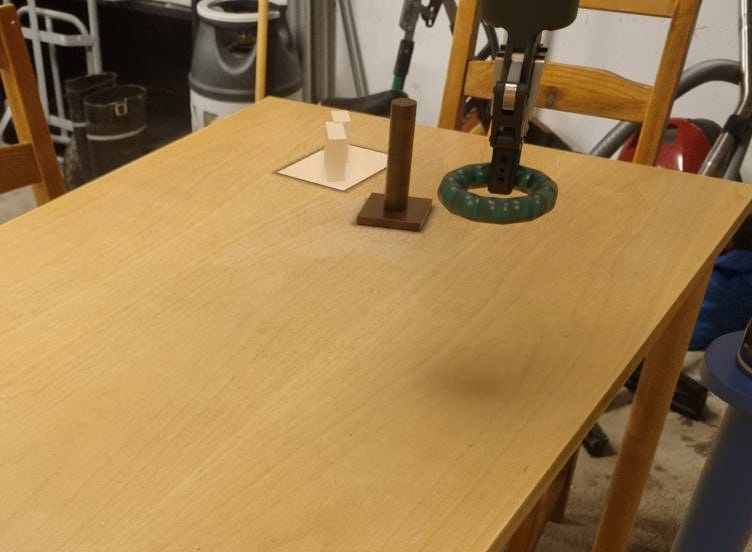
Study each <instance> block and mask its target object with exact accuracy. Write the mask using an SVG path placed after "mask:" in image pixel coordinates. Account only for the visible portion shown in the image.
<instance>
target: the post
mask: <svg viewBox="0 0 752 552" xmlns="http://www.w3.org/2000/svg"><path fill="white" fill-rule="evenodd" d="M390 104H391V105H390V117H389V130H388V144H387V154H388V155H387V167H386V170H385V182H384V193H383V192H373V191H372V192H371V193H370V195H369V197H368V198H367V200H366V201H365V202H364V204H363V206H362V208H361V209H360V211H359V212H358V214H357V216H356V217H357V218H356V224H357V225H364V226H372V227H380V228H390V229H398V230H399V229H400V230H406V231H416V232H420V231H421V230H422V228H423V225H424V223H425V221H426V220H427V217H428V215H429V213H430V211H431V209H432V207H433V198H427V197H417V196H410V185H411V172H412V165H413V164H412V162H413V153H414V142H415V141H414V140H415V130H416V119H417V109H418V101H417V100H416V99H413V98H411V97H410V98H409V97H398V98H394V99H392V100H391V103H390Z"/></svg>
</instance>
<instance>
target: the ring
mask: <svg viewBox="0 0 752 552" xmlns="http://www.w3.org/2000/svg"><path fill="white" fill-rule="evenodd" d="M490 167H491V161H487V162H477V163H470V164H465V165H463V166H460V167H458V168H456V169H455V168H454V169H453V170H450V171H448V172H447V173H445V174H444V175H443V177H442V179H441V181H440V183H439V186H438V187H437V191H436V197H437V199H438V201H439V203H441V205H442V206H443V207H444V208H445V209H446V210H447V212H449V213H450V214H451V215H454V216H457V217H460V218H462V219H465V220H467V221H470V222H474V223H481V224H488V225H489V224H490V225H499V226H506V225H515V224H523V223H530V222H533V221H535V220H537V219H540V218H541V217H543V216H545V215H547V214H549V213H550V212H552V211H553V209H554V208H555V206H556V203H557V201H558V200H557V199H558V194H559V187H558V184H557V183H556V181H555V180H553V179H552V178H551V177H550V176H548V175H547V174H546V173H545V172H543V171H542V170H539V169H536V168H533V167H529V166H526V165H523V164H521V163H520V164H517V170H516V176H515V182H514V188H513V191H516V192H520V193H523V194H526V195H522V196H512V197H498V196H497V197H496V196H488V195H487V196H486V195H481V194H478V193H474V192H471V191H470V190H477V189H486V188H487V189H488V181H489V174H490Z"/></svg>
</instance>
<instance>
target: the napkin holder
mask: <svg viewBox="0 0 752 552" xmlns="http://www.w3.org/2000/svg"><path fill="white" fill-rule="evenodd" d="M351 123H352V122H351V118H350V114H349V111H348V110H331V111H330V121H325V122H324V143H323V144H324V145H323V146H324V147H323V149H321V150H319V151H317V152H315V153H313V154H311V155H309V156H307V157H305V158H303V159H301V160H299V161H297V162H295V163H293V164H290V165H289V166H287V167H285V168H283V169H281V170H279V171H277V173H278V174H282V175H285V176H288V177H291V178H296V179H300V180H303V181H306V182H311V183H314V184H318V185H321V186H326V187H329V188H333V189H336V190H340V191H344V192H345V191H346V190H348V189H349V188H351V187H353V186H354V185H357V184H359V183H360V182H362V181H363V180H366V179H367V178H369V177H371V176H373V175H375V174H376V173H378V172H380V171H382V170H383V169H385V168H387V155H388V153H383V152H379V151H376V150H372V149H367V148H364V147H359V146H356V145H355V146H354V145H351V144H350V140H351Z"/></svg>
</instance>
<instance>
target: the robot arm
mask: <svg viewBox="0 0 752 552" xmlns="http://www.w3.org/2000/svg"><path fill="white" fill-rule="evenodd" d="M580 1H581V0H481V5H480V17H481V20H482V22H483V23H485V24H486V25H487V26H490V27H492V28H495V29H501V28H502V29H503V30H505V31H506V34H507V38H506V43H500V46H499V50H498V51H496V53H495V57H494V62H493V70H492V71H493V72H492V76H493V78H494V83H493V85H494V86H493V89H492V99H491V104H490V115H491V125H490V134H489V136H488V142H489V147H491V148H492V152H491V161H490V162H491V167H490V174H489V181H488V187H487V191H488V193H489V194H491V195H502V196H509V195H511V194H512V193H513V191H514V190H513V188H514V182H515V176H516V170H517V164H520V165H521V158H522V152H523V151H522V150H523V146H524V142H525V138H524V137H525V136H526V135H527V132H529V128H530V124H529V122H530V119H531V118H532V117H533V114H534V111H535V107H536V105H537V103H538V100H539V99H538V98H539V94H540V87H541V81H542V78H543V75H544V71H545V70H546V67H547V62H548V58H549V51H550V46H546V45H545V46H544V43H541V42H542V37H543V31H547V32H548V31H549V32H555V31H559V30H563V29H565V28H568V27H570V26H572V24H573V23H574V22H575V21H576V20H577V17H578V12H579V8H580ZM746 330H747V331H746ZM745 333H746V334H745ZM745 333H744V337H743V340H742V343H741V346H740V347H739V349H738V352H737V355H736V359H735V360H736V364H737V366H738V367H739V369H740V370H741V371H742V372H743V373H744V374H746V375H747V376H748V377H750V378H752V317H751V318H750V320H749V321H748V322H747V325H746V328H745Z"/></svg>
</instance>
